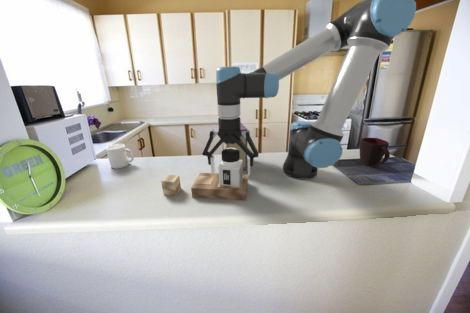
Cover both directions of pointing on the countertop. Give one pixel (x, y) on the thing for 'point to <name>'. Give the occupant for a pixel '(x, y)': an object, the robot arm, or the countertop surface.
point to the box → (239, 148)
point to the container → (230, 168)
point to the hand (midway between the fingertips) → (230, 173)
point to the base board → (218, 188)
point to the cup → (118, 155)
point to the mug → (373, 151)
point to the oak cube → (171, 185)
